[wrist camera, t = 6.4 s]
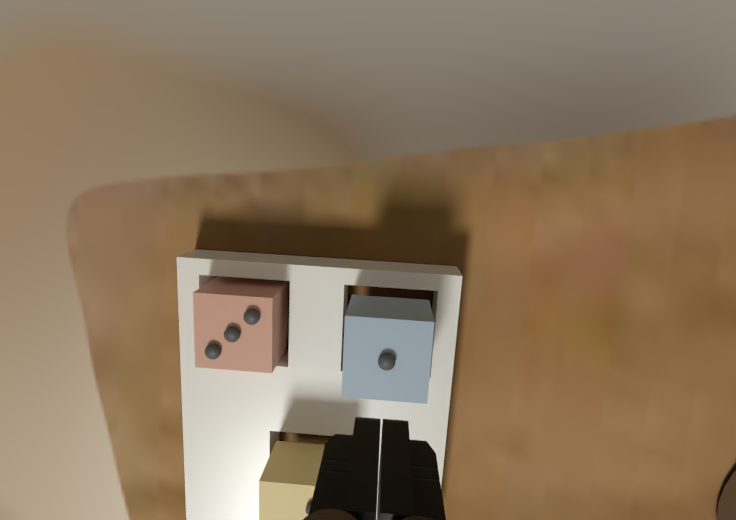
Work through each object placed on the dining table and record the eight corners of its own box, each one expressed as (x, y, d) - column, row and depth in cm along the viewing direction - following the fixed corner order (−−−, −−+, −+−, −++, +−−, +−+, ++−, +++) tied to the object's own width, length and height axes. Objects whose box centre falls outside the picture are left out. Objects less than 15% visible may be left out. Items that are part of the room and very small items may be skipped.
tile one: (429, 299, 21) (434, 323, 18) (422, 371, 22) (427, 406, 19) (351, 294, 21) (344, 317, 18) (348, 365, 22) (340, 399, 19)
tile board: (457, 266, 23) (462, 275, 21) (432, 520, 26) (435, 549, 24) (194, 249, 24) (176, 257, 22) (201, 499, 27) (186, 525, 25)
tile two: (346, 446, 23) (338, 491, 20) (343, 507, 24) (335, 560, 21) (276, 440, 23) (257, 484, 20) (275, 501, 24) (257, 552, 21)
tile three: (288, 280, 23) (271, 299, 20) (287, 347, 24) (270, 375, 21) (218, 276, 23) (190, 293, 20) (219, 342, 24) (193, 369, 21)
